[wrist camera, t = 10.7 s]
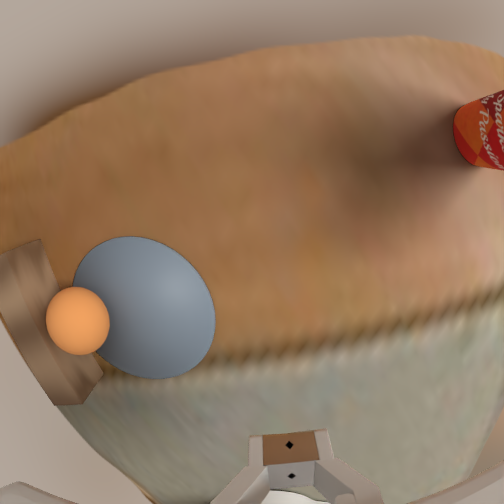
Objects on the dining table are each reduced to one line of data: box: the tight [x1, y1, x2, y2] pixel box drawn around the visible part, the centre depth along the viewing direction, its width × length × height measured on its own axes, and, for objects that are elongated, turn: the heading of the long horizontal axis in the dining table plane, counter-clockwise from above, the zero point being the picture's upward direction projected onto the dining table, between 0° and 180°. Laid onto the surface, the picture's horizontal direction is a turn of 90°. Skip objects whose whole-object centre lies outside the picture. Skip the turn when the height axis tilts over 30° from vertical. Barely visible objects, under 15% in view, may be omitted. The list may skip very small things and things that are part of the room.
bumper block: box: [0, 239, 104, 406], centre depth 22 cm, size 14×4×5 cm, turn 18°
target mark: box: [73, 236, 215, 379], centre depth 24 cm, size 13×13×1 cm
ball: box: [46, 287, 110, 355], centre depth 21 cm, size 6×6×6 cm
